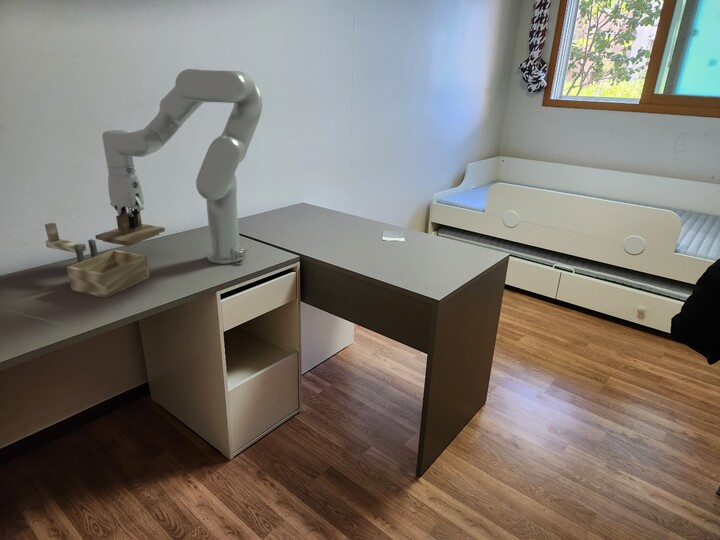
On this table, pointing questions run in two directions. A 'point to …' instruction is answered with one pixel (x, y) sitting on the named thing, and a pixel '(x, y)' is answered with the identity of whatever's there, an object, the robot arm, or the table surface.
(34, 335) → the table surface
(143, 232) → the lid
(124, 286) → the light wooden box
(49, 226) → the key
